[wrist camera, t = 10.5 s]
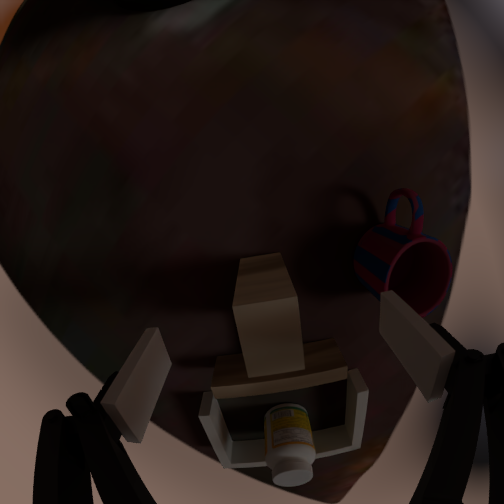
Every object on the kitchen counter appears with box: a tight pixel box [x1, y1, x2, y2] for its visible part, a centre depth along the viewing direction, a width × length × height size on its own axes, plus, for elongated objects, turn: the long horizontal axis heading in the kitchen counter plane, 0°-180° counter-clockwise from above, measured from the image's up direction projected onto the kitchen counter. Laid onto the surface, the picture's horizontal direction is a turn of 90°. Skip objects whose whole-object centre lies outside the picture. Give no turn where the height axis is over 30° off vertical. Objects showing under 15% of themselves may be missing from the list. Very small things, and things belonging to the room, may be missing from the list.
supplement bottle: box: [264, 403, 316, 487], centre depth 24 cm, size 5×5×10 cm
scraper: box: [211, 252, 348, 399], centre depth 21 cm, size 11×12×10 cm
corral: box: [198, 368, 369, 468], centre depth 27 cm, size 11×17×4 cm, turn 100°
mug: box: [354, 188, 452, 318], centre depth 21 cm, size 7×10×7 cm
